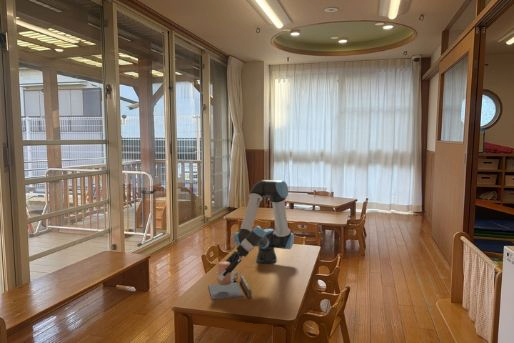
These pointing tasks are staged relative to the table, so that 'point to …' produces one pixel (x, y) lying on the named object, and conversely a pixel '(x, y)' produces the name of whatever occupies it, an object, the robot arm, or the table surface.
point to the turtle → (233, 276)
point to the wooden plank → (246, 286)
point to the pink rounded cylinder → (221, 268)
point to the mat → (225, 291)
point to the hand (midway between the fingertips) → (218, 276)
